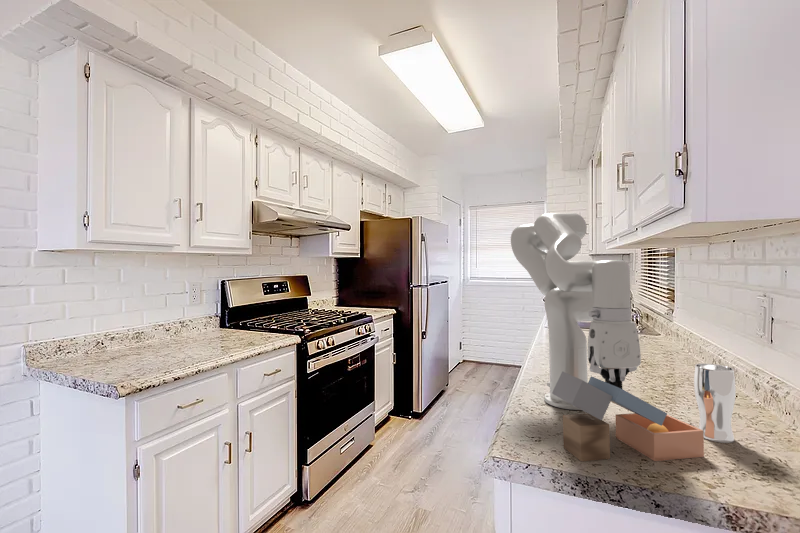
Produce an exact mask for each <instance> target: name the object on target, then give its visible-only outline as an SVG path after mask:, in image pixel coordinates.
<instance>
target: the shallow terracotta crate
mask: <svg viewBox="0 0 800 533" xmlns="http://www.w3.org/2000/svg"><path fill="white" fill-rule="evenodd" d="M651 424H654V422H652V421H650V420H648V419H646V418H644V417H642V416H640V415H638V414H636V413H634V412H632V413H619V414H615V439H617V440H619V441H620V442H622V443H623V444H625V445H627V446H629V447H630V448H632V449H634V450H636V452H639V453H641V454H642V455H644V456H645V457H647V458H649V459H650V460H651V461H654V462H659V461H661V462H662V461H671V460H672V461H673V460H681V459H682V460H683V459H684V460H685V459H694V458H703V457H705V446H704V444H705V442H704V441H705V440H704V439H705V438H704V436H703V430H701V429H699V427H697V426H694V425H691V424H690V423H687V422H685V421H682V420H680V419H678V418H675V417H673V416H672V415H668V414H667V415H666V417H665V419H664V422H663V424H662V425H663V426H665V427H666V428H667V429H668V431H669V432H662V433H653V432H651V431H649V430H647V428H648V426H649V425H651Z"/></svg>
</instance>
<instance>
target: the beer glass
mask: <svg viewBox="0 0 800 533" xmlns="http://www.w3.org/2000/svg"><path fill="white" fill-rule="evenodd" d="M734 370H735V368H733V367H731V366H727V365H723V364H717V363H704V362H703V363H702V362H700V363H695V365H694V375H693V376H694V377H693V386H694V387H693V388H694V394H695V401H696V404H697V408H698V412H699V425H698V428H699V429H701V430H703V436H704V439H705V440H706V441H707V440H708V441H711V442H715V443H720V444H721V443H722V444H723V443H724V444H729V443H733V442H735V435H734V433H733V432H734V431H733V429H732V428H733V427H732V417H733V412H734V408H735V401H736V391H737V390H736V378H735V371H734Z"/></svg>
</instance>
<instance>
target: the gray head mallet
mask: <svg viewBox="0 0 800 533" xmlns="http://www.w3.org/2000/svg"><path fill="white" fill-rule="evenodd" d="M552 394H554V395H556V396H557V397H559V398H561V399H563V400H564V401H566V402H568V403H570V404H571V405H573V406H575V407H577V408H579V409H581V410H580V411H583V412H585V413H588V414H590V415H592V416H594V417H596V418H598V419H600V420H603V419H604V417H605V415H606V413H607V411H608V409H609V406H610V404H611V403H613V404H615V405H617V406H619V407H621V408H623V409H625V410H627V411H630V412H632V413H636V414H638V415H640V416H642V417H644V418H646V419H648V420H650V421H652V422H654V423H657V424H659V425H661V426H662V424H663V422H664V419H665V417H666V415H668V413H667V412H665V411H664V410H661V409H660V408H657V407H656V406H654V405H652V404H650V403H649V402H647V401H645V400H643V399H641V398H639V397H638V396H635V395H634V394H632V393H630V392H629V391H626V390H625V389H623V388H622V389H621V388H618V387H616V386H614V385H611V384H609V383H606V382H605V380H601V379H599V378H596V377H595V376H592V375H590V378H589V380H588V383H587V382H585V381H583V380H581V379H579V378H576V377H574V376H572V375H570V374H567V373H565V372H563V371H562V373H561V375H560V377H559V379H558V382H557V384H556V386H555V388H554V390H553V392H552Z"/></svg>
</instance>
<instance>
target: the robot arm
mask: <svg viewBox="0 0 800 533" xmlns="http://www.w3.org/2000/svg"><path fill="white" fill-rule="evenodd" d="M586 234H587V223H586V220H585V218H584V217H583V216H582V215H581V214H579V213H577V212H550V213H549V212H547V213H543V214H542V215H539V216H538V217H537V218H536V219H535V221H534V223H528V224H527V223H526V224H521V225H518V226H517V227H515V228H514V229H513V230H512V232H511V234H510V245H511V246H510V247H511V251H512V253H513V255H514V257H515V258H516V260H517V261H518V263H519V264H520V265H521V266H522V267H523V268H524V270H525V271H527V273H528V274H529V276H530V277H531V279H532V281H533V282H534V284H535V286H536V287H537V289H538V290H539V292H541V293H540V294H542V295H544V296H545V297H544V301H543V303H544V311H545V313H546V314H545V315H546V319H547V326H548V347H549V348H548V352H549V353H548V355H549V357H548V359H549V362H548V363H549V381H547V383H546V386H547V387H549V392H548V393H545V394H544V396H543V397H544V398H543V400H544V402H545V403H546V404H547V405H550V406H553V407H555V408H559V409H564V410H572V411H582V410H581V409H579V408H577V407H575V406H573V405H571V404H570V403H568V402H566V401H564V400H563V399H561V398H559V397H557V396H556V395H554V394H552V392H553V390H554V388H555V386H556V384H557V382H558V379H559V377H560V375H561V373H562V371H563V372H565V373H567V374H570V375H572V376H574V377H576V378H579V379H581V380H583V381H585V382H587V383H588V382H589V380H588V363H589V364H590V365H589V371H590V372H592V373H595V374H600V376H601V377H602V379H604V382H606V383H609V384H611V385H614V386H616V387H618V388H621V389H623V382H624V381H626V376H627V375H629V373H632V372H635V371H637V369H638V367H640V366H641V362H642V358H641V344H640V340H639V339H640V338H639V334H638V329H637V325H636V323H635V321H632V308H631V307H632V304H631V303H632V302H631V299H632V298H631V275H630V274H631V273H630V272H631V271H630V268H631V267H630V265H629V263H628V262H627V261H625V260H620V259H619V260H618V259H617V260H614V259H613V260H610V259H609V260H608V259H607V260H571V259H572V258H575V256H576V255H577V254H578V253H579V252H580V250H581V249H582V239H583V238H585V235H586ZM543 250H544V251H543ZM545 250H547V252H545ZM578 322H590V324H589V330H588V336H587V337H588V338H587V337H586V334H585V333H584V331H583V329H582V328H581V327H580V325H579V323H578Z"/></svg>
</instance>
